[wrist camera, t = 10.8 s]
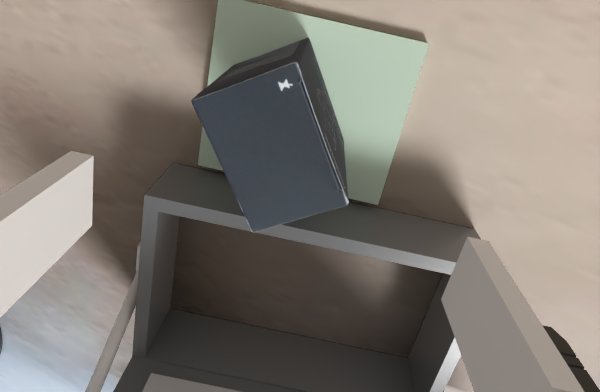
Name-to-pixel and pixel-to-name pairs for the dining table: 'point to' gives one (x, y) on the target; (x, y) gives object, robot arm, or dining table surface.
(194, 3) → the dining table surface
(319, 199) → the box
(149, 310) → the case
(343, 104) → the pad
